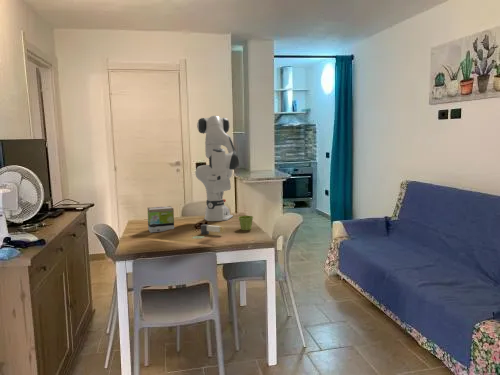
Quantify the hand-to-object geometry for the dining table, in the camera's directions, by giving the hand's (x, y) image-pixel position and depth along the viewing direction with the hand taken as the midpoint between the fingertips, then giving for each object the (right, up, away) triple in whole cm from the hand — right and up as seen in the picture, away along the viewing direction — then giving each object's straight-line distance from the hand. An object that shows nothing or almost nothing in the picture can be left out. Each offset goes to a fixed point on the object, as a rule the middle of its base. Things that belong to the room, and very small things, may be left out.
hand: (220, 199), depth 238 cm
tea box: (-39, -21, +16) cm, 47 cm away
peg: (-5, -20, -3) cm, 21 cm away
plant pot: (+15, -20, +9) cm, 27 cm away
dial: (-9, -22, 0) cm, 23 cm away
